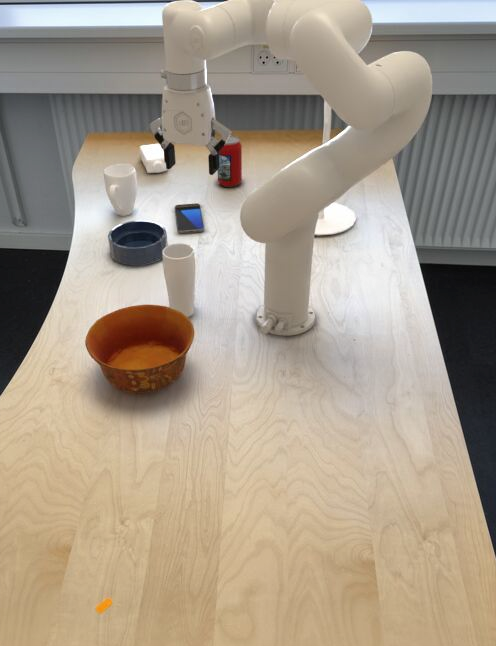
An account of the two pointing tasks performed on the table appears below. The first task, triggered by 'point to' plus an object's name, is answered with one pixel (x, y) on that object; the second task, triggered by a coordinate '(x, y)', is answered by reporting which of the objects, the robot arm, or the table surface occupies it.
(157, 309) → the bowl
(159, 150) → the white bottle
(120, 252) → the blue bowl
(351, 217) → the desk lamp
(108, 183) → the mug
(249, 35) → the robot arm
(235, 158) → the beverage can
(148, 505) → the table surface
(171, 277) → the tall white cup
